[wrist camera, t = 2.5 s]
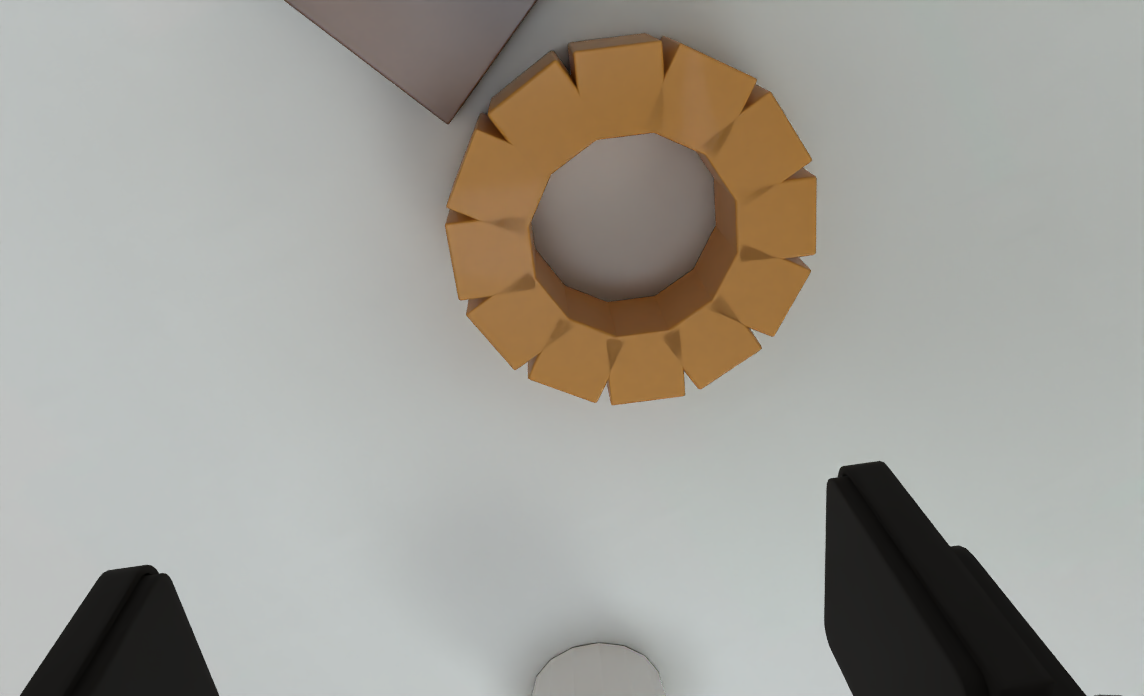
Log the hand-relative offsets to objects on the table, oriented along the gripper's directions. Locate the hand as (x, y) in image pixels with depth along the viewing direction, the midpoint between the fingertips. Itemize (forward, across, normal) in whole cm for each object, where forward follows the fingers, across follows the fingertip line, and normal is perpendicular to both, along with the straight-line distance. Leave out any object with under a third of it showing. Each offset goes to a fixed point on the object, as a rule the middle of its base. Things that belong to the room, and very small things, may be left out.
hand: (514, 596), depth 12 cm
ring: (+17, -4, 0) cm, 17 cm away
